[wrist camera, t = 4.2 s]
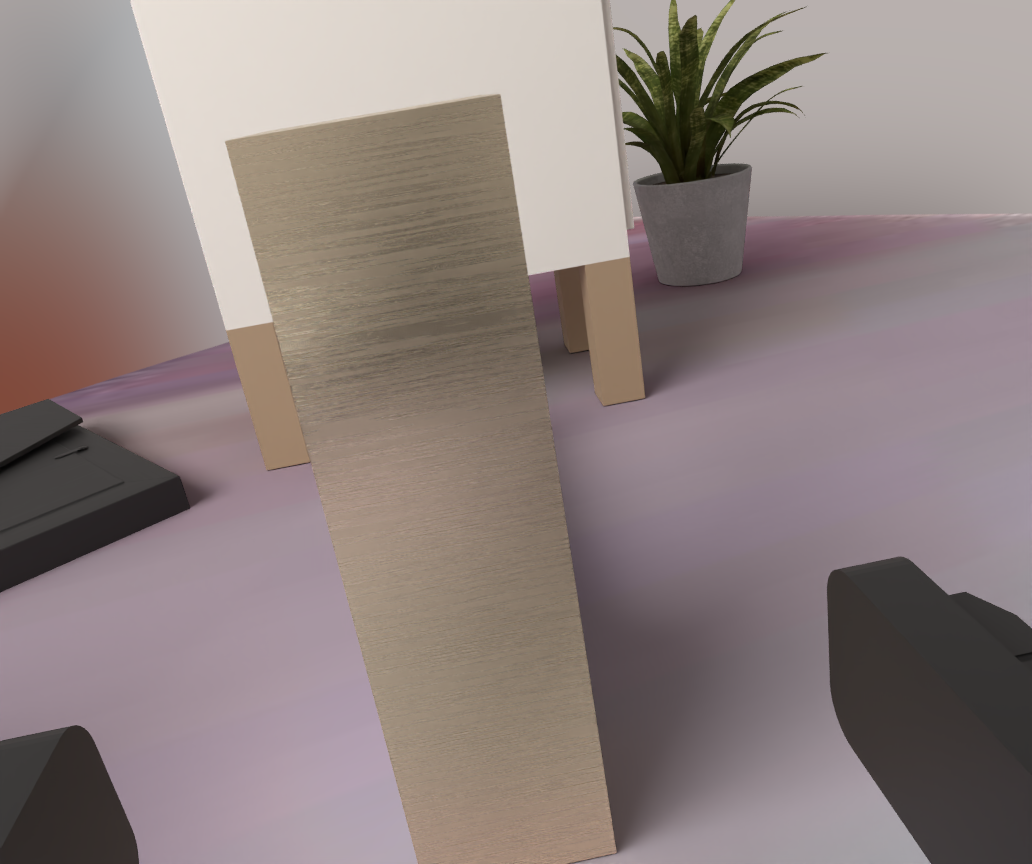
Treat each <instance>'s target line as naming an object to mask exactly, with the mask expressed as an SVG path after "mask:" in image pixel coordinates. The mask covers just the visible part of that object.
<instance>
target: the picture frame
mask: <svg viewBox="0 0 1032 864" xmlns="http://www.w3.org/2000/svg"><path fill="white" fill-rule="evenodd" d="M82 422H83V420H82V418H81V417H80V416H78V415H76V414H74V413H72V412H71V411H69V410H67V409H65V408H64V407H62V406H60V405H58V404H56V403H55V402H53V401H51V400H49V399H47V400H44V401H40V402H37V403H34V404H31V405H28V406H25V407H22V408H19V409H16V410H13V411H10V412H7V413H4V414H1V415H0V592H2V591H4V590H6V589H9V588H11V587H13V586H16V585H18V584H20V583H22V582H25V581H27V580H29V579H31V578H34V577H36V576H38V575H40V574H43V573H45V572H47V571H49V570H52V569H54V568H56V567H58V566H61V565H63V564H65V563H67V562H70V561H72V560H74V559H77V558H79V557H81V556H83V555H86V554H88V553H90V552H92V551H95V550H97V549H99V548H101V547H104V546H106V545H108V544H110V543H113V542H115V541H117V540H119V539H122V538H124V537H126V536H129V535H131V534H133V533H135V532H138V531H140V530H142V529H144V528H147V527H149V526H151V525H153V524H156V523H158V522H160V521H162V520H165V519H167V518H169V517H171V516H174V515H176V514H178V513H180V512H183V511H185V510H187V509H190V506H189V503H188V500H187V497H186V494H185V491H184V488H183V485H182V482H181V479H180V477H179V476H178V475H176V474H174V473H172V472H170V471H168V470H166V469H164V468H162V467H160V466H158V465H156V464H154V463H152V462H150V461H148V460H146V459H144V458H142V457H140V456H138V455H136V454H134V453H132V452H130V451H128V450H126V449H124V448H122V447H120V446H118V445H116V444H114V443H112V442H110V441H108V440H106V439H104V438H102V437H100V436H98V435H96V434H95V433H93V432H91V431H89V430H87V429H85V428H83V427H81V426H79V425H78V424H80V423H82Z"/></svg>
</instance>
